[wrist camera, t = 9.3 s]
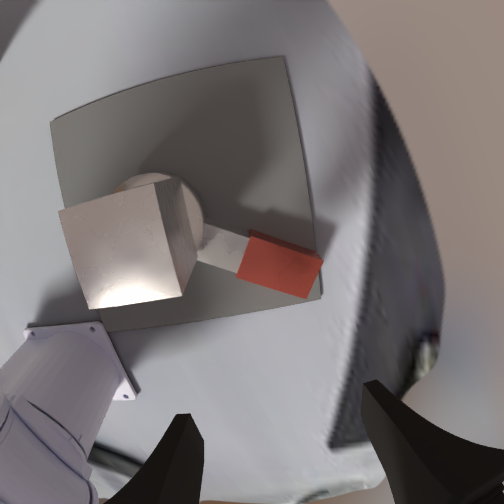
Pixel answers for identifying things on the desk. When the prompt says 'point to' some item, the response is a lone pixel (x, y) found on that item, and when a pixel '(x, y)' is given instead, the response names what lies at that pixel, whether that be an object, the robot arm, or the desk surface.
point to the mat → (198, 172)
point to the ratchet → (243, 246)
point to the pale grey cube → (131, 244)
